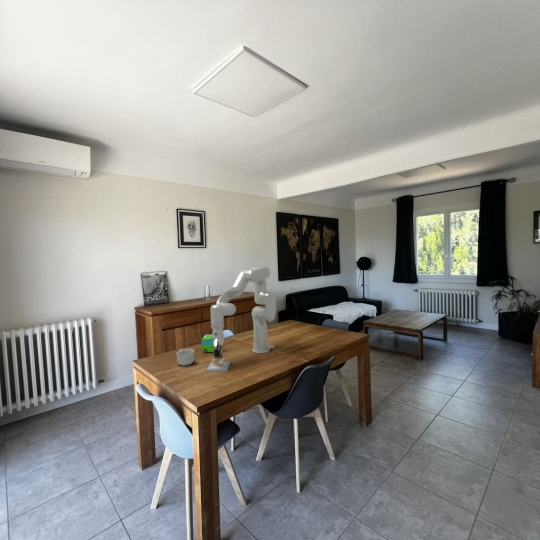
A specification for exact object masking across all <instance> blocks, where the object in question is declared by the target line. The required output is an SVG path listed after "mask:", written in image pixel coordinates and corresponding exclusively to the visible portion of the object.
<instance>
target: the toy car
mask: <svg viewBox="0 0 540 540" xmlns="http://www.w3.org/2000/svg"><path fill="white" fill-rule="evenodd" d="M224 345H225V344H224V343H222V346H223V349H224ZM213 348H214V345H213V335H206V336H204V337H202V338H201V352H203V353H204V354H207V353H209V352H210V353H213Z"/></svg>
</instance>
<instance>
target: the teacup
mask: <svg viewBox="0 0 540 540" xmlns="http://www.w3.org/2000/svg"><path fill="white" fill-rule="evenodd" d="M175 355H176V361H177V363H178V364H179V365H180V366H183V367H187V366H189V365H192V364H193V362H194V361H195V357H196V356H195V350H194V349H193V348H185V349H179V351H177V352H176V354H175Z"/></svg>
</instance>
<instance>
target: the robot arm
mask: <svg viewBox="0 0 540 540" xmlns="http://www.w3.org/2000/svg"><path fill="white" fill-rule="evenodd" d="M270 275H271V270H270V268H269V267H268V266H250V267H249V268H243V269H241V270H239V272H238V273H237V275H236V278H235V280H234V281H233V283H232V284H231V286H230V287H229V288H228V289H226V290H225V291H224V292H223V293H222V294H221V295H220V296H219V297H218V298H217V301H216V303H215V304H212V305H211V306H210V327H211V329H212V336H213V345H214V357H220V350H219V346H222V344H224V342H225V337H224V327H225V325H224V324H225V321H224V317H225V316H229V317H230V316H233V315H234V314H235V313H236V311H237V307H236V305H235V304H233V303H230V300H232V299H234V298H237V297H239V296H241V295H243V294H244V293H245V292H244V291H245V289H246V288H247V286H248V284H249V283H254V302H255V304H256V305H257V306H254V307H253V308H252V310H251V317H252V324H253V348H251V351H252V353H254V354H266V353H269V351H270V349H274V348H275V346H274V345H273V344H269V343H268V325H267V322H273V321H274V320H275V318H276V313H277V312H276V311H277V307H276V306H277V297H276V295H275V293H274V292H273V291H268V286H267V285H268V283H267V281H266V280H267V279H268V278H269V277H270ZM260 305H261V306H260ZM262 305H263V306H262ZM264 305H265V306H264ZM217 346H218V347H217Z"/></svg>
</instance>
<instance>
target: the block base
mask: <svg viewBox="0 0 540 540" xmlns="http://www.w3.org/2000/svg"><path fill="white" fill-rule="evenodd" d="M212 362H213V367H223V366H224V364H225V362H226V361H225V355H224V354H223V357H222V359H213V358H212Z"/></svg>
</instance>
